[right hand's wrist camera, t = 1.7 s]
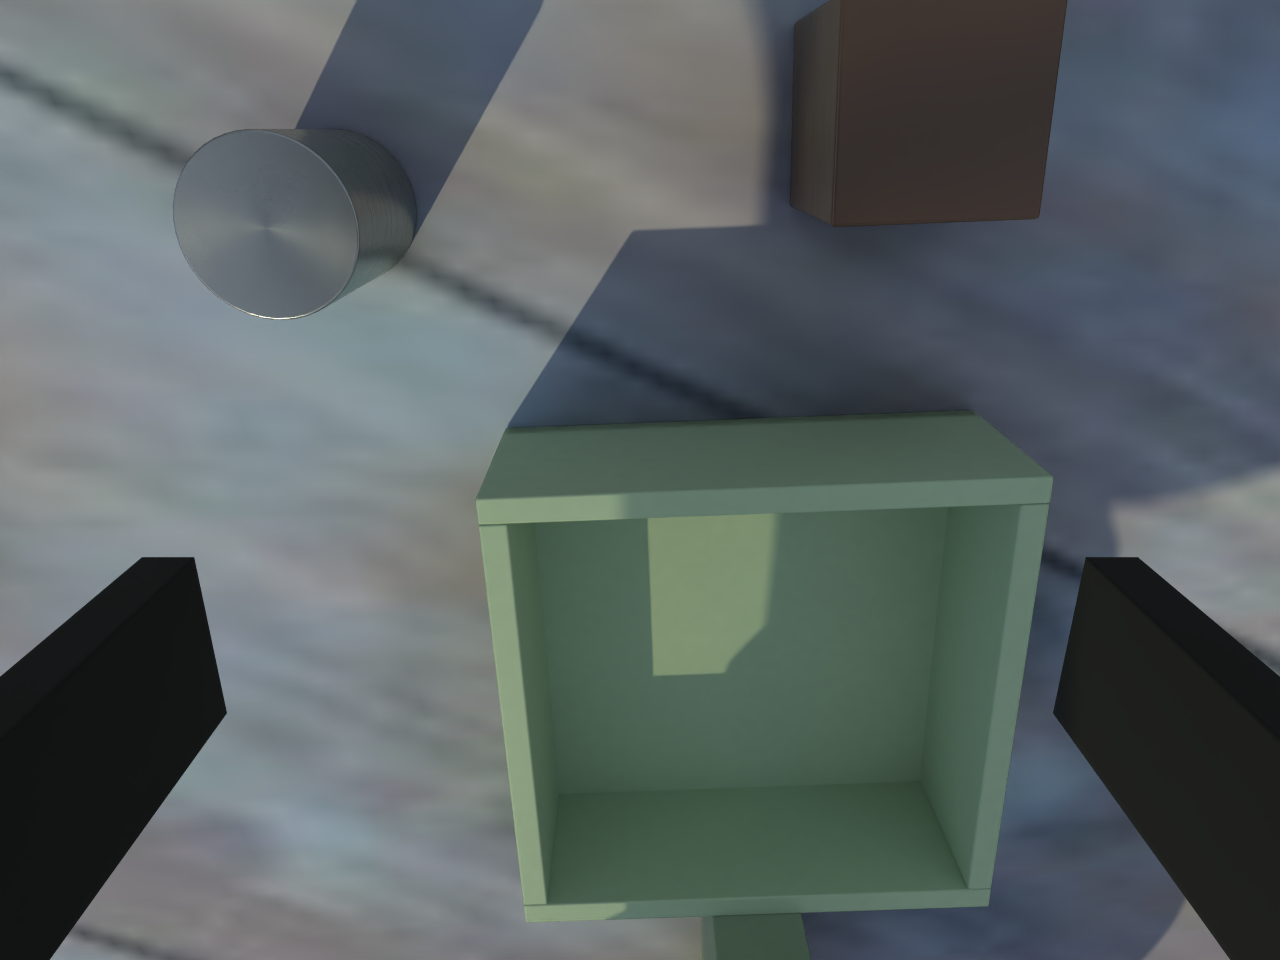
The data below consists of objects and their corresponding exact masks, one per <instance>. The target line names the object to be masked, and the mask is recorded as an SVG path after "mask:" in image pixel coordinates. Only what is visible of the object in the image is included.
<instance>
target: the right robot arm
mask: <svg viewBox="0 0 1280 960" xmlns="http://www.w3.org/2000/svg"><path fill="white" fill-rule="evenodd" d="M226 714H227V711H226V707H225V702H224V697H223V692H222V688H221V683H220V678H219V673H218V669H217V664H216V659H215V654H214V650H213V645H212V640H211V635H210V631H209V626H208V621H207V616H206V611H205V607H204V602H203V597H202V592H201V588H200V583H199V578H198V573H197V569H196V564H195V559H194V557H142V558H141V559H140V560H138V561H137V562H136V563H135V564H134V565H132V566H131V567H130V568H129V569H128V570H126V571H125V572H124V573H123V574H122V575H121V576H119V577H118V578H117V579H116V580H115V581H113V582H112V583H111V584H110V585H109V586H107V587H106V588H105V589H104V590H103V591H101V592H100V593H99V594H98V595H97V596H96V597H94V598H93V599H92V600H91V601H90V602H88V603H87V604H86V605H85V606H84V607H82V608H81V609H80V610H79V611H78V612H77V613H75V614H74V615H73V616H72V617H71V618H69V619H68V620H67V621H66V622H65V623H63V624H62V625H61V626H60V627H59V628H58V629H56V630H55V631H54V632H53V633H52V634H50V635H49V636H48V637H47V638H46V639H44V640H43V641H42V642H41V643H40V644H39V645H37V646H36V647H35V648H34V649H33V650H31V651H30V652H29V653H28V654H27V655H25V656H24V657H23V658H22V659H21V660H20V661H18V662H17V663H16V664H15V665H14V666H12V667H11V668H10V669H9V670H8V671H6V672H5V673H4V674H3V675H2V676H1V677H0V960H50V959H51V957H52V956H53V954H54V953H55V952H56V950H57V949H58V947H59V946H60V945H61V943H62V942H63V940H64V939H65V938H66V936H67V935H68V934H69V932H70V931H71V929H72V928H73V927H74V925H75V924H76V922H77V921H78V920H79V918H80V917H81V915H82V914H83V913H84V911H85V910H86V908H87V907H88V906H89V904H90V903H91V901H92V900H93V899H94V897H95V896H96V895H97V893H98V892H99V890H100V889H101V888H102V886H103V885H104V883H105V882H106V881H107V879H108V878H109V876H110V875H111V874H112V872H113V871H114V869H115V868H116V867H117V865H118V864H119V863H120V861H121V860H122V858H123V857H124V856H125V854H126V853H127V851H128V850H129V849H130V847H131V846H132V844H133V843H134V842H135V840H136V839H137V837H138V836H139V835H140V833H141V832H142V831H143V829H144V828H145V826H146V825H147V824H148V822H149V821H150V819H151V818H152V817H153V815H154V814H155V812H156V811H157V810H158V808H159V807H160V805H161V804H162V803H163V801H164V800H165V799H166V797H167V796H168V794H169V793H170V792H171V790H172V789H173V787H174V786H175V785H176V783H177V782H178V780H179V779H180V778H181V776H182V775H183V773H184V772H185V771H186V769H187V768H188V767H189V765H190V764H191V762H192V761H193V760H194V758H195V757H196V755H197V754H198V753H199V751H200V750H201V748H202V747H203V746H204V744H205V743H206V741H207V740H208V739H209V737H210V736H211V735H212V733H213V732H214V730H215V729H216V728H217V726H218V725H219V723H220V722H221V721H222V719H223V718H224V716H225V715H226ZM1053 714H1054V715H1055V716H1056V718H1057V719H1058V721H1059V722H1060V723H1061V725H1062V726H1063V728H1064V729H1065V730H1066V732H1067V733H1068V735H1069V736H1070V737H1071V739H1072V740H1073V741H1074V743H1075V744H1076V746H1077V747H1078V748H1079V750H1080V751H1081V753H1082V754H1083V755H1084V757H1085V758H1086V760H1087V761H1088V762H1089V764H1090V765H1091V767H1092V768H1093V769H1094V771H1095V772H1096V773H1097V775H1098V776H1099V778H1100V779H1101V780H1102V782H1103V783H1104V785H1105V786H1106V787H1107V789H1108V790H1109V792H1110V793H1111V794H1112V796H1113V797H1114V799H1115V800H1116V801H1117V803H1118V804H1119V805H1120V807H1121V808H1122V810H1123V811H1124V812H1125V814H1126V815H1127V817H1128V818H1129V819H1130V821H1131V822H1132V824H1133V825H1134V826H1135V828H1136V829H1137V831H1138V832H1139V833H1140V835H1141V836H1142V837H1143V839H1144V840H1145V842H1146V843H1147V844H1148V846H1149V847H1150V849H1151V850H1152V851H1153V853H1154V854H1155V856H1156V857H1157V858H1158V860H1159V861H1160V863H1161V864H1162V865H1163V867H1164V868H1165V869H1166V871H1167V872H1168V874H1169V875H1170V876H1171V878H1172V879H1173V881H1174V882H1175V883H1176V885H1177V886H1178V888H1179V889H1180V890H1181V892H1182V893H1183V895H1184V896H1185V897H1186V899H1187V900H1188V901H1189V903H1190V904H1191V906H1192V907H1193V908H1194V910H1195V911H1196V913H1197V914H1198V915H1199V917H1200V918H1201V920H1202V921H1203V922H1204V924H1205V925H1206V927H1207V928H1208V929H1209V931H1210V932H1211V934H1212V935H1213V936H1214V938H1215V939H1216V940H1217V942H1218V943H1219V945H1220V946H1221V947H1222V949H1223V950H1224V952H1225V953H1226V954H1227V956H1228V957H1229V959H1230V960H1280V677H1279V676H1278V675H1277V674H1276V673H1275V672H1274V671H1272V670H1271V669H1270V668H1269V667H1268V666H1266V665H1265V664H1264V663H1263V662H1262V661H1260V660H1259V659H1258V658H1257V657H1256V656H1255V655H1253V654H1252V653H1251V652H1250V651H1249V650H1247V649H1246V648H1245V647H1244V646H1243V645H1241V644H1240V643H1239V642H1238V641H1237V640H1236V639H1234V638H1233V637H1232V636H1231V635H1230V634H1228V633H1227V632H1226V631H1225V630H1224V629H1222V628H1221V627H1220V626H1219V625H1218V624H1217V623H1215V622H1214V621H1213V620H1212V619H1211V618H1209V617H1208V616H1207V615H1206V614H1205V613H1203V612H1202V611H1201V610H1200V609H1199V608H1198V607H1196V606H1195V605H1194V604H1193V603H1192V602H1190V601H1189V600H1188V599H1187V598H1186V597H1184V596H1183V595H1182V594H1181V593H1180V592H1179V591H1177V590H1176V589H1175V588H1174V587H1173V586H1171V585H1170V584H1169V583H1168V582H1167V581H1165V580H1164V579H1163V578H1162V577H1161V576H1159V575H1158V574H1157V573H1156V572H1155V571H1154V570H1152V569H1151V568H1150V567H1149V566H1148V565H1146V564H1145V563H1144V562H1143V561H1142V560H1140V559H1139V558H1138V557H1086V559H1085V564H1084V569H1083V573H1082V578H1081V583H1080V588H1079V592H1078V597H1077V602H1076V607H1075V611H1074V616H1073V621H1072V626H1071V631H1070V635H1069V640H1068V645H1067V650H1066V654H1065V659H1064V664H1063V669H1062V673H1061V678H1060V683H1059V688H1058V692H1057V697H1056V702H1055V707H1054V711H1053Z"/></svg>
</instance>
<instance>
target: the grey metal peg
mask: <svg viewBox="0 0 1280 960" xmlns="http://www.w3.org/2000/svg"><path fill="white" fill-rule="evenodd" d="M416 216H417V213H416V202H415V197H414V193H413V190H412V187H411V184H410V182H409V180H408V177H407V175H406V174H405V172H404V170H403V169H402V167H401V166H400V164H399V163H398V162H397V160H396V159H395V158H394V157H393V156H392V155H391V154H390V153H389V152H388V151H387V150H386V149H385V148H383V147H382V146H381V145H380V144H378V143H377V142H375V141H373V140H372V139H370V138H368V137H366V136H364V135H361V134H359V133H356V132H352V131H348V130H342V129H245V130H236V131H232V132H229V133H225V134H222V135H220V136H218V137H216V138H213V139H212V140H210V141H209V142H207V143H206V144H204V145H203V146H202V147H201V148H199V149H198V150H197V151H196V152H195V153H194V154H193V155H192V157H191V158H190V159H189V160H188V162H187V163H186V165H185V167H184V168H183V170H182V172H181V174H180V177H179V179H178V182H177V185H176V190H175V194H174V203H173V218H174V225H175V231H176V235H177V238H178V242H179V245H180V247H181V250H182V252H183V254H184V256H185V258H186V260H187V262H188V264H189V265H190V267H191V268H192V270H193V271H194V273H195V274H196V275H197V277H198V278H199V279H200V280H201V281H202V283H203V284H204V285H205V286H206V287H207V288H208V289H209V290H210V291H212V292H213V293H214V294H215V295H216V296H217V297H219V298H220V299H222V300H223V301H224V302H226V303H227V304H229V305H231V306H233V307H234V308H236V309H238V310H240V311H243V312H245V313H248V314H250V315H254V316H257V317H261V318H267V319H274V320H288V319H297V318H301V317H305V316H308V315H311V314H313V313H316V312H318V311H320V310H321V309H323V308H325V307H326V306H328V305H330V304H332V303H333V302H335V301H337V300H338V299H340V298H342V297H344V296H345V295H347V294H349V293H351V292H352V291H354V290H356V289H357V288H359V287H361V286H363V285H364V284H366V283H368V282H369V281H371V280H373V279H375V278H376V277H378V276H380V275H381V274H383V273H385V272H387V271H388V270H390V269H391V268H392V267H393V266H395V265H396V264H397V263H398V262H399V261H400V260H401V258H402V257H403V256H404V254H405V253H406V251H407V250H408V248H409V246H410V244H411V241H412V239H413V236H414V232H415V227H416Z"/></svg>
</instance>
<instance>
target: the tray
mask: <svg viewBox="0 0 1280 960" xmlns="http://www.w3.org/2000/svg"><path fill="white" fill-rule="evenodd" d="M1053 479H1054V478H1053V476H1052V475H1051V474H1049V473H1048V472H1047V471H1046V470H1045V469H1043V468H1042V467H1041V466H1040V465H1039V464H1037V463H1036V462H1035V461H1034V460H1033V459H1031V458H1030V457H1029V456H1028V455H1026V454H1025V453H1024V452H1023V451H1022V450H1020V449H1019V448H1018V447H1017V446H1016V445H1014V444H1013V443H1012V442H1011V441H1010V440H1008V439H1007V438H1006V437H1005V436H1003V435H1002V434H1001V433H1000V432H999V431H997V430H996V429H995V428H994V427H993V426H991V425H990V424H989V423H988V422H987V421H985V420H984V419H983V418H982V417H981V416H979V415H978V414H977V413H976V412H974V411H973V410H965V411H939V412H913V413H887V414H861V415H835V416H810V417H784V418H758V419H732V420H706V421H680V422H654V423H628V424H602V425H576V426H550V427H524V428H506V429H505V431H504V434H503V436H502V438H501V441H500V443H499V446H498V448H497V450H496V453H495V455H494V457H493V460H492V462H491V465H490V467H489V469H488V472H487V474H486V476H485V479H484V481H483V484H482V486H481V488H480V491H479V493H478V495H477V498H476V507H477V515H478V523H479V524H480V525H479V532H480V541H481V549H482V557H483V566H484V574H485V583H486V591H487V600H488V608H489V616H490V625H491V633H492V642H493V650H494V658H495V667H496V675H497V684H498V692H499V701H500V709H501V717H502V726H503V734H504V743H505V751H506V759H507V768H508V776H509V785H510V793H511V802H512V810H513V818H514V827H515V835H516V844H517V852H518V860H519V869H520V877H521V886H522V894H523V903H524V911H525V920H526V922H553V921H582V920H610V919H639V918H667V917H696V916H702V960H811V958H810V953H809V948H808V944H807V939H806V934H805V930H804V925H803V921H802V916H801V913H811V912H839V911H868V910H897V909H925V908H954V907H983V906H988V905H989V898H990V892H991V889H990V888H991V884H992V877H993V871H994V864H995V858H996V851H997V845H998V838H999V831H1000V825H1001V818H1002V812H1003V805H1004V799H1005V792H1006V786H1007V779H1008V773H1009V766H1010V759H1011V753H1012V746H1013V740H1014V733H1015V727H1016V720H1017V714H1018V707H1019V700H1020V694H1021V687H1022V681H1023V674H1024V668H1025V661H1026V655H1027V648H1028V642H1029V635H1030V628H1031V622H1032V615H1033V609H1034V602H1035V596H1036V589H1037V583H1038V576H1039V569H1040V563H1041V556H1042V550H1043V543H1044V537H1045V530H1046V524H1047V517H1048V511H1049V504H1048V503H1049V502H1050V499H1051V492H1052V486H1053Z"/></svg>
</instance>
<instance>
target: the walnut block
mask: <svg viewBox="0 0 1280 960" xmlns="http://www.w3.org/2000/svg"><path fill="white" fill-rule="evenodd" d="M1066 6H1067V0H829V1H828V2H826V3H825V4H823V5H822V6H820V7H819V8H817V9H815V10H814V11H812V12H811V13H809V14H808V15H806V16H805V17H803V18H802V19H800V20H799V21H797V22H796V23H795V30H794V68H793V107H792V145H791V183H790V205H791V206H792V207H794V208H796V209H798V210H800V211H802V212H804V213H806V214H808V215H810V216H812V217H814V218H816V219H818V220H820V221H822V222H825V223H827V224H829V225H831V226H833V227H848V226H873V225H898V224H923V223H948V222H973V221H998V220H1024V219H1036V218H1038V217H1039V214H1040V206H1041V198H1042V191H1043V183H1044V175H1045V168H1046V160H1047V152H1048V144H1049V137H1050V129H1051V121H1052V114H1053V106H1054V98H1055V91H1056V83H1057V75H1058V68H1059V60H1060V52H1061V44H1062V37H1063V29H1064V21H1065V14H1066Z"/></svg>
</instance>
